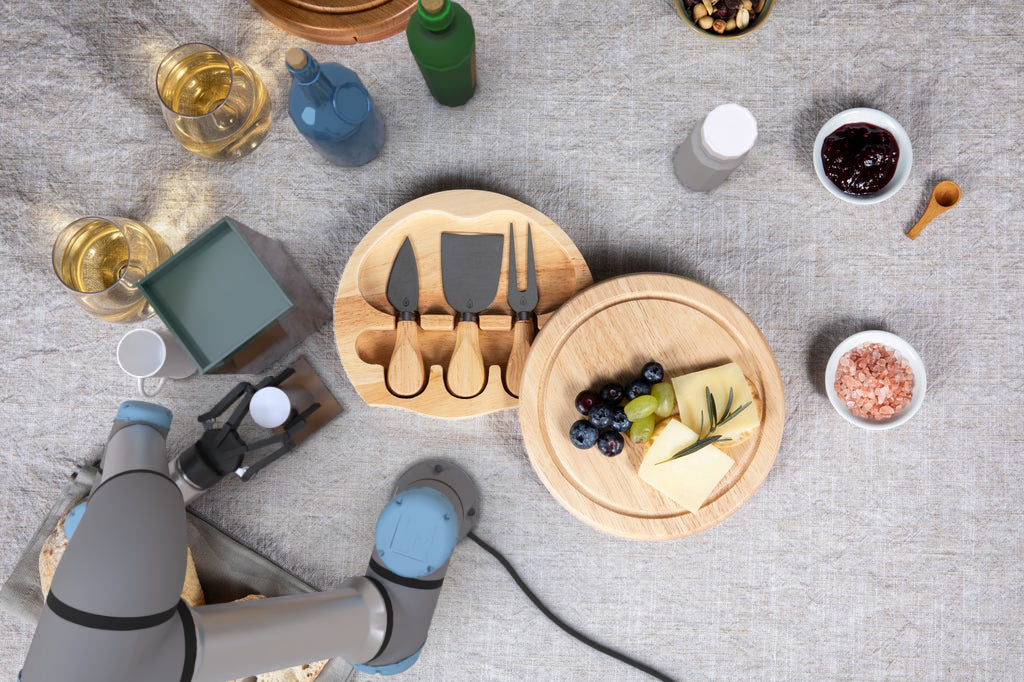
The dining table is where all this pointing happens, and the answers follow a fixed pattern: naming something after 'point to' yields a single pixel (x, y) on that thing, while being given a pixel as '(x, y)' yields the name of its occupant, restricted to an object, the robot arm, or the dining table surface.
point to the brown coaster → (320, 394)
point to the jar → (716, 147)
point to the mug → (153, 357)
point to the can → (279, 405)
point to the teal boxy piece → (233, 300)
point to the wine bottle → (333, 110)
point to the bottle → (444, 50)
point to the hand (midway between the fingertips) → (304, 387)
